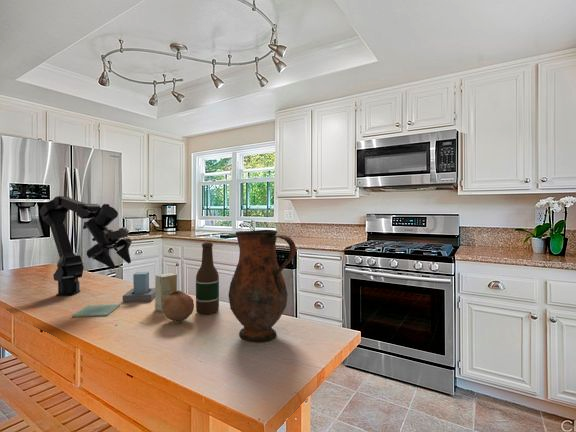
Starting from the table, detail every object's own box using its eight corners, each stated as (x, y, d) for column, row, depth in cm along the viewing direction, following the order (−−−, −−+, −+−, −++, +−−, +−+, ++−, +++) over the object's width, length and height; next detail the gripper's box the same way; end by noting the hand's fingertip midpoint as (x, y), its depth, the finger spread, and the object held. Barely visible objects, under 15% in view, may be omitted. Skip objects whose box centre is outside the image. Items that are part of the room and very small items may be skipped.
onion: (160, 328, 95) (160, 295, 95) (164, 318, 105) (163, 287, 104) (193, 325, 98) (193, 293, 98) (194, 315, 107) (194, 286, 107)
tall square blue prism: (133, 299, 125) (133, 274, 124) (137, 296, 129) (137, 272, 129) (145, 299, 125) (145, 274, 125) (149, 296, 130) (148, 271, 130)
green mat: (72, 317, 105) (72, 315, 105) (88, 306, 116) (88, 305, 116) (107, 315, 106) (107, 314, 106) (120, 305, 117) (120, 304, 117)
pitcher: (255, 320, 103) (255, 227, 102) (310, 336, 90) (311, 230, 89) (215, 337, 90) (214, 230, 89) (273, 359, 77) (274, 235, 76)
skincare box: (161, 312, 110) (161, 277, 110) (154, 309, 113) (154, 275, 113) (177, 307, 115) (177, 273, 115) (170, 305, 118) (170, 272, 118)
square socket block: (122, 302, 121) (122, 295, 121) (132, 294, 132) (132, 288, 132) (151, 301, 123) (151, 294, 123) (158, 293, 133) (158, 287, 133)
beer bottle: (191, 312, 110) (190, 243, 109) (206, 306, 117) (206, 241, 116) (208, 316, 106) (208, 244, 105) (223, 310, 113) (223, 242, 112)
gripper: (97, 222, 113) (121, 259, 113) (130, 218, 132) (151, 250, 131) (75, 239, 115) (99, 275, 115) (111, 233, 133) (131, 264, 133)
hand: (122, 265), depth 123 cm, fingers open, 9 cm apart
